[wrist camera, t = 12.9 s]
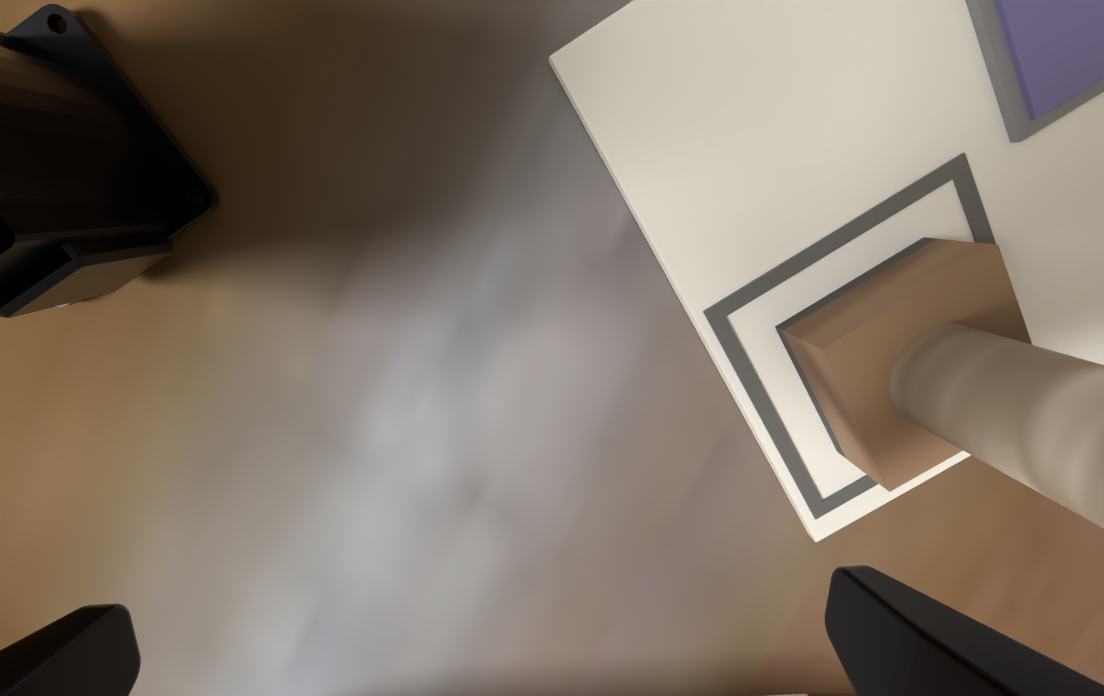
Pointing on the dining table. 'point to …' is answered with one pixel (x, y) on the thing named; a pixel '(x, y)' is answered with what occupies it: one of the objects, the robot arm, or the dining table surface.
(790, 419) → the stamping board
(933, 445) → the stamp
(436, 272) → the dining table surface
